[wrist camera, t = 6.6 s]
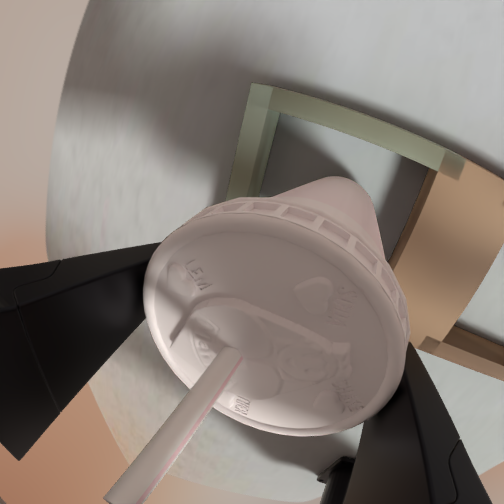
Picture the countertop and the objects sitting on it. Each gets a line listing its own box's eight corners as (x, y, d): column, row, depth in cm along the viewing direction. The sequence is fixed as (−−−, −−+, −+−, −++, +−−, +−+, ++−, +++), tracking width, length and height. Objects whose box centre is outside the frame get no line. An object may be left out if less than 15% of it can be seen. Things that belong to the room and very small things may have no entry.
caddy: (522, 368, 15) (528, 389, 13) (228, 248, 19) (212, 264, 18) (601, 250, 10) (616, 265, 8) (266, 84, 14) (251, 82, 13)
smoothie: (259, 157, 15) (-49, 321, 4) (394, 138, 12) (415, 518, 1) (285, 277, 17) (112, 515, 6) (407, 273, 14) (355, 602, 3)
